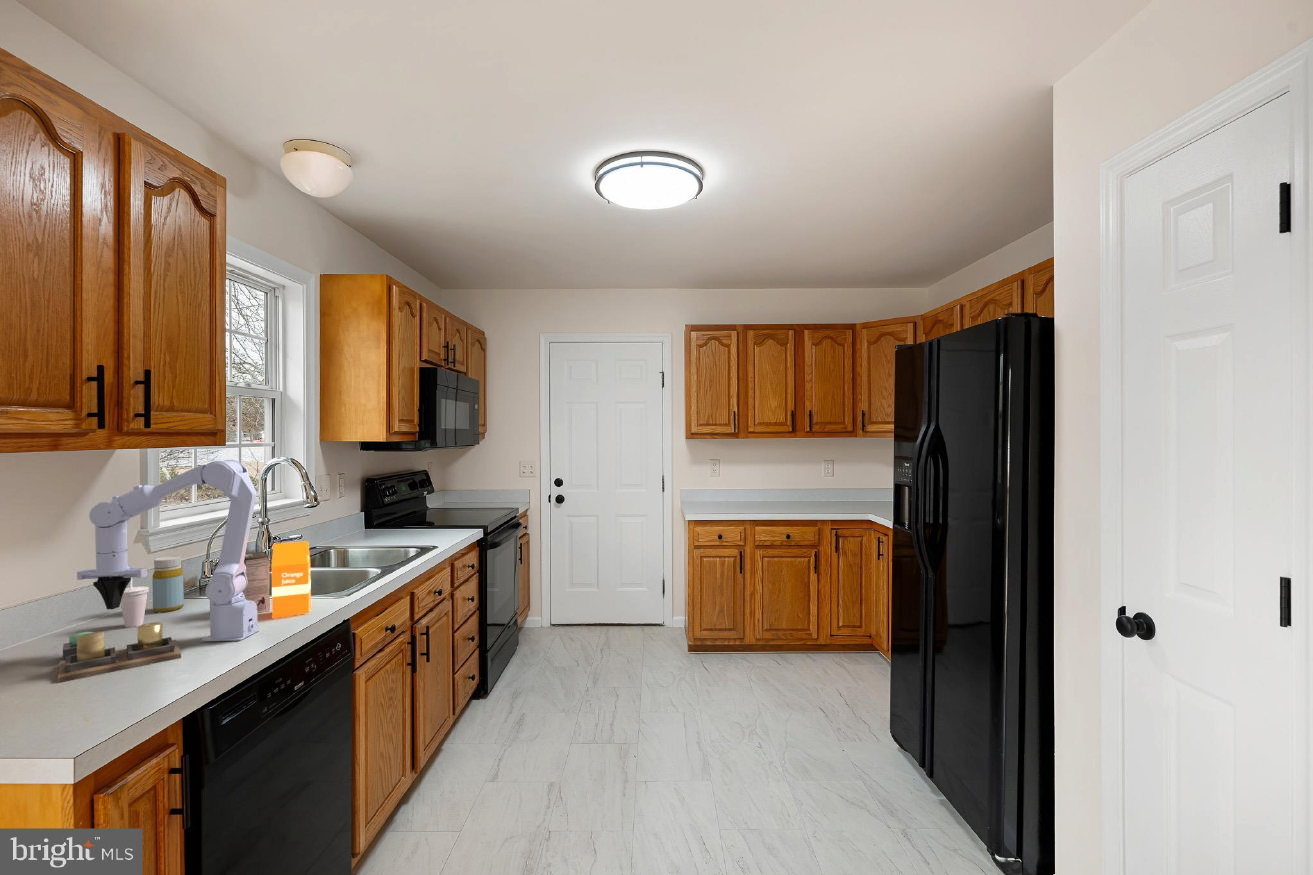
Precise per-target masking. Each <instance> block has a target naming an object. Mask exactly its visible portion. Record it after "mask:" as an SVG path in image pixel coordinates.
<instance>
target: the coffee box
mask: <svg viewBox="0 0 1313 875" xmlns="http://www.w3.org/2000/svg"><path fill="white" fill-rule="evenodd" d="M244 564H245V566H246V572H245V573H246V577H247V580H248V584H247V587H246V589H245V590H244V591H243V594H244V596H245V599H246V600H249V601H254V602H255V603H256V605H257V614H259V613H260V614H261V613H264V612H265V611H266V612H270V610H271V609H270V604H271V603H270V602H271V601H270V597H271V596H270V555H269V554H266V553H265V552H263V551H255V552H246V553H245V558H244Z"/></svg>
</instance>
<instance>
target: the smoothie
mask: <svg viewBox="0 0 1313 875" xmlns="http://www.w3.org/2000/svg"><path fill="white" fill-rule="evenodd" d="M148 592H150V589H149V586H145V585H144V586H133V577H132V578H131V581H130V582H129V587H126V589H125V591H124V593H123V596H122V599H121V603H120V606H121V612H122V616H123V618H122V619H123V622H124V626H125V628H135V626H136V627H138V626H140V625H142V624H144V620H145V612H146V605H147V597H148Z"/></svg>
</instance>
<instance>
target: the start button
mask: <svg viewBox="0 0 1313 875" xmlns="http://www.w3.org/2000/svg"><path fill="white" fill-rule="evenodd" d="M89 633H94V632H93V631H84V632H77V633H74V634H71V635H69V636H68V640H69V641H68V643H69V645H77V637H78V636H81V635H84V634H89Z"/></svg>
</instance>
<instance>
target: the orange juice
mask: <svg viewBox="0 0 1313 875" xmlns="http://www.w3.org/2000/svg"><path fill="white" fill-rule="evenodd" d="M309 547H310V545H309V540H308V541H305V540H304V541H292V542H282V543H281V542H280V543H273V545H272V558H271V559H272V560H271V599H272V600H271V602H272V604H271V606H272V609H271V610H272V611H271V612H272V619H273V618H274V619H280V618H279V617H282V618H291V617H294V616H293V615H299V616H302V615H301V614H305V613H309V614H310V612H311V609H312V594H311V593H312V592H311V591H312V590H311V589H312V587H311V586H312V584H311V583H312V580H311V578H312V577H311V556H310V548H309ZM310 608H311V609H310ZM309 611H310V612H309ZM290 616H291V617H290Z"/></svg>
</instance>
